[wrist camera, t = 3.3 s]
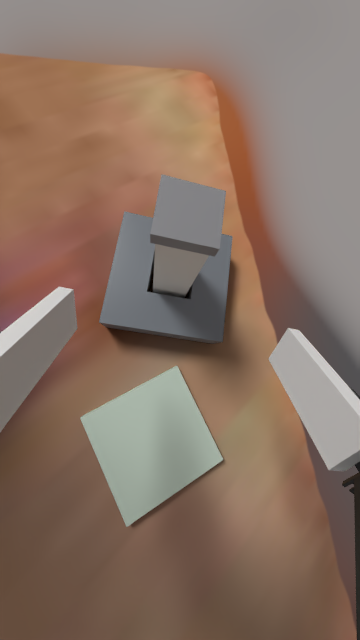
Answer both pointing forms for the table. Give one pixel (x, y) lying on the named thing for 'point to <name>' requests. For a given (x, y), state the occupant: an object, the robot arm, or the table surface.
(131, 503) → the pad
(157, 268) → the plug
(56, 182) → the table surface
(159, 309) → the grey square socket block
